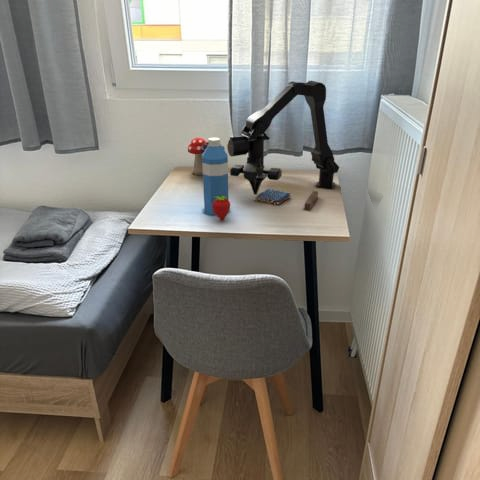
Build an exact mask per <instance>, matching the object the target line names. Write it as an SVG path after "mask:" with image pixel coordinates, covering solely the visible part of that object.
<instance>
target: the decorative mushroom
mask: <svg viewBox="0 0 480 480" xmlns="http://www.w3.org/2000/svg"><path fill="white" fill-rule="evenodd" d="M206 142H207V141H206V139H204V138H202V137H195V138H192V139H191V140H190V141H189V144H188V147H187V153H189V154H192V155H194V161H193V168H192V173H193V174H194V175H195V176H203V168H202V153H201V152H200V147H202V146H203V145H204V143H206Z"/></svg>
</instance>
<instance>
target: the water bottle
mask: <svg viewBox="0 0 480 480" xmlns="http://www.w3.org/2000/svg"><path fill="white" fill-rule="evenodd" d="M207 142H209V145H208V146H207V148H206V149H205V151H204V153H203V154H202V168H203V175H202V181H203V182H202V185H203V186H202V187H203V207H204V214H207V215H209V216H216V214H215V213H214V212H213V208H212V203H213V202H214V201H215V200H216V199H217V198H216V197H214V196H217V197H222V196H226V197H225V198H228V200H229V201H230V199H229V160H228V159H229V156H228V153H227V152H226V150H225V148H224V149H223V148H222V146H223V145H222V144H221V138H220V137H209V138H208V141H207ZM220 144H221V145H220ZM219 192H220V193H221V194H222V195H221V194H220V193H219Z"/></svg>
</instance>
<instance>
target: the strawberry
mask: <svg viewBox="0 0 480 480" xmlns="http://www.w3.org/2000/svg"><path fill="white" fill-rule="evenodd" d="M219 193H220V192H219ZM220 194H221V193H220ZM221 195H222V194H221ZM214 197H216V198H217V199H216V200H215V201H214V202H213V203H212V208H213V212H214V213H215V214H216V215H215V216H216V217H217V218H218V219H219V221H221V222H223V221H224V220H225V218H226V217H227V216H228V214H229V212H230V208H231V201H230V199H229V197H228V198H225V197H226V196H222V197H217V196H214ZM228 199H229V200H228Z"/></svg>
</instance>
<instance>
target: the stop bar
mask: <svg viewBox="0 0 480 480" xmlns="http://www.w3.org/2000/svg"><path fill="white" fill-rule="evenodd" d="M318 194H319V191H316V190H312V192H311V193H310V195H309V196H308V198H307V199H306V201H305V203H304V208H303V209H304V210H305V211H311V209H312V207H313V206H314V204H315V202H316V201H317V199H318V198H319V197H318V196H319V195H318Z"/></svg>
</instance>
